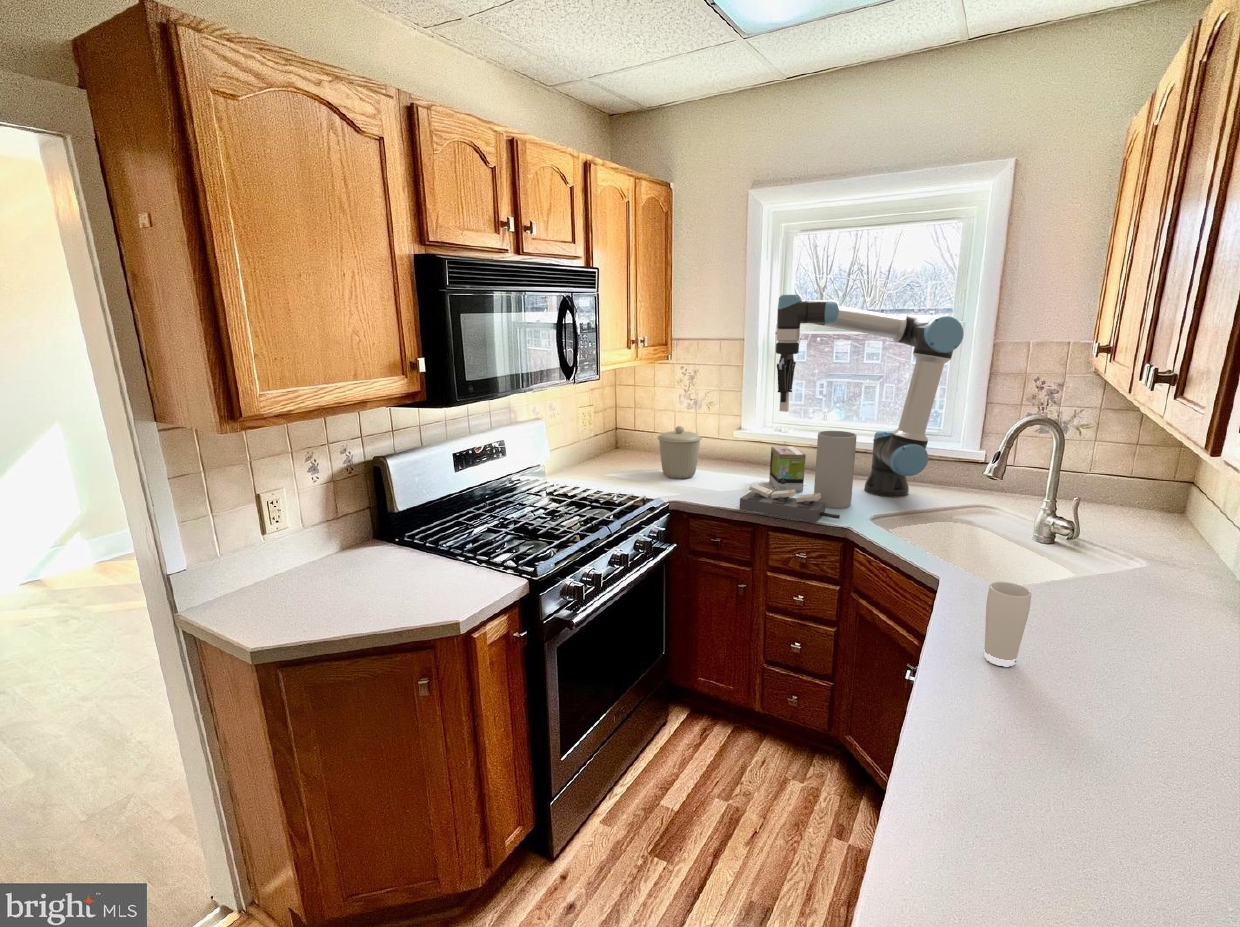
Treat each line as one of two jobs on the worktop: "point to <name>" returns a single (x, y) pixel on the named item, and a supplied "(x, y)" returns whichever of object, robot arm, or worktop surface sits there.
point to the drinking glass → (1006, 619)
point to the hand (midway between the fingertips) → (783, 411)
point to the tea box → (787, 468)
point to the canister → (679, 453)
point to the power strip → (784, 507)
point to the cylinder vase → (835, 468)
